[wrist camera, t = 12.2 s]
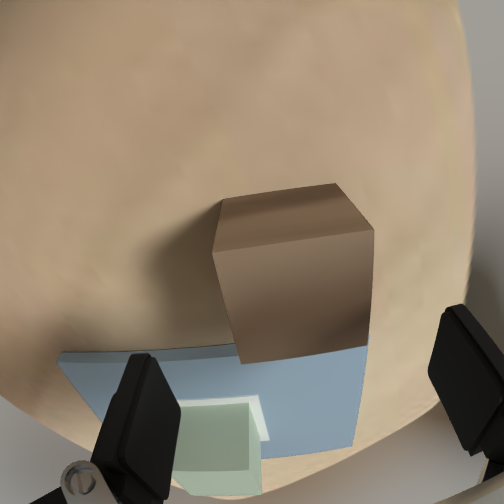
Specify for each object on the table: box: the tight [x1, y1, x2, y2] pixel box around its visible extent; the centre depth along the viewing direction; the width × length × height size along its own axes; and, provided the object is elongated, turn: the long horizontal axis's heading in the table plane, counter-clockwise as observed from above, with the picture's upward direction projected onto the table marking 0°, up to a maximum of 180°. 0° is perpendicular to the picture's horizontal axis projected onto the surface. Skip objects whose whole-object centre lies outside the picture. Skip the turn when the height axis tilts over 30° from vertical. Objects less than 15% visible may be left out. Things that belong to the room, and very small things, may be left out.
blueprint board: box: [56, 334, 369, 459], centre depth 21 cm, size 14×20×1 cm
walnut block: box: [212, 183, 374, 365], centre depth 13 cm, size 5×5×5 cm
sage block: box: [172, 402, 262, 496], centre depth 18 cm, size 5×5×5 cm
